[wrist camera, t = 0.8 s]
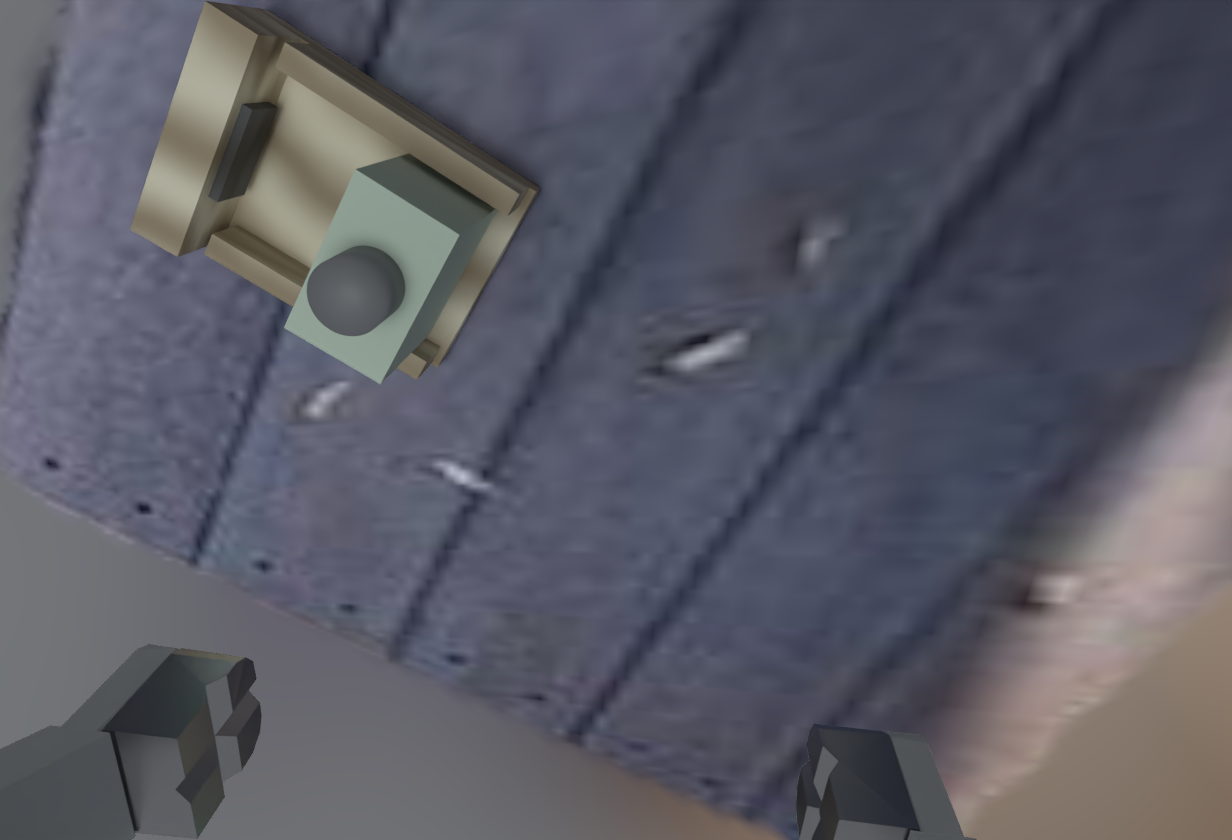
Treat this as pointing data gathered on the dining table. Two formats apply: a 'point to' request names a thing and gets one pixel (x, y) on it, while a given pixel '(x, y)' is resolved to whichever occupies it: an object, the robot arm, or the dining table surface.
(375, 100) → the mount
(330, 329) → the slider
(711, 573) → the dining table surface
